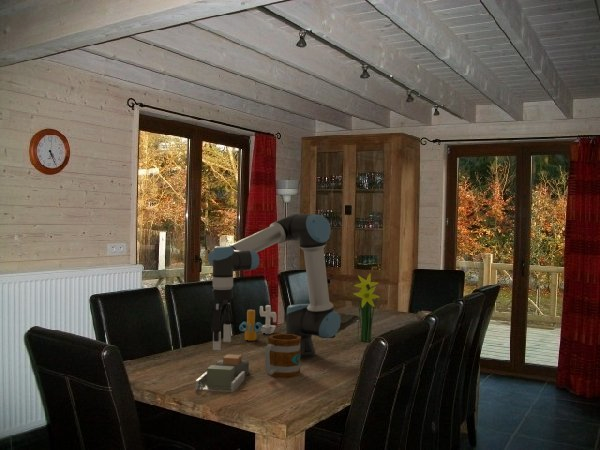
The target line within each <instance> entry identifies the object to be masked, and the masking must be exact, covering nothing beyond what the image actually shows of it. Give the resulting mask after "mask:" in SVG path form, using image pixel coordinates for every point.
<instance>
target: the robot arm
mask: <svg viewBox="0 0 600 450" xmlns="http://www.w3.org/2000/svg"><path fill="white" fill-rule="evenodd" d="M331 228H332V227H331V224H330V222H329V220H328V219H327V218H326V217H325V216H323V215H321V214H317V213H316V214H315V213H311V214H310V213H308V214H307V213H306V214H303V213H302V214H301V213H300V214H298V213H297V214H294V213H293V214H291V215H287V216H285V217H283V218H281V219H278V220H276V221H274V222H272V223H270V224H269V227H266V228H264V229H262V230H259V231H256V232H255V233H253V234H251V235H249V236H247V237H245V238H242V239H240V240H238V241H236V242H234V243H233V242H232V243H231V244H229V245H223V246H222V245H221V246H220V245H218V246H214V247H213V249H211V250H210V251H209V253H208V255H207V259H208V263H209V264H210V266H211V267H212V278H211V282H212V287H213V288H212V289H211V290H212V291H211V292H212V296H211V297H212V299H213V300H215V301H217V302H216V303H213V315H212V321H211V326H210V327H211V328H210V332H211V333H212V351H221V350H222V349H221V346H222V340H223V342H224V343H231V342H232V325H234V321H233V320H234V319H233V318H234V317H233V311H232V305H231V303H232V300H233V297H234V289H233V288H234V272H238V271H239V272H240V271H243V272H244V271H247V272H249V271H251V270H252V271H253V270H256V269H257V268H258V267H259V264H260V256H259V254H258V252H261V251H263V250H265V249H266V248H267V249H268V248H269V247H271V246H273V245H275V244H283V243H285V242H290V241H291V242H292V241H293V242H294V241H296V242H298V244H299V248H300V249H301V250H302V251H303V256H304V265H305V271H306V274H305V275H306V282H307V290H308V299H309V303H298V304H290V305H288V306H287V307H286V313H285V317H286V319H285V320H286V323H285V324H286V326H285V327H286V328H285V331H286V332H285V334H294V335H297V336H301V342H300V353H301V357H300V360H301V359H303V360H304V359H311V358H314V357H315V356H316V348H315V346H314V341H313V339H312V336H315V337H319V338H323V339H324V338H327V339H329V338H332V337H334V336H335V335H336V334H337V333H338V332H339V330H340V327H341V321H342V320H341V315H340V314H339V312H337V311H335V308H334V304H333V303H332V302H331V301H330V295H329V287H328V278H327V277H328V276H327V268H326V267H327V265H326V259H325V250H324V248H325V247H326V246H327V241H328V240H329V239H330V235H331V234H332V231H331V230H332V229H331ZM223 323H224V324H223ZM222 324H223V338H222V332H221V328H222Z"/></svg>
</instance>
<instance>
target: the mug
mask: <svg viewBox="0 0 600 450" xmlns="http://www.w3.org/2000/svg"><path fill="white" fill-rule="evenodd" d="M267 340H268V344H267V345H266V346H265V348H264V349H265V350H264V369H265V370H264V371H265V373H266V374H267V375H268V376H270V377H273V378H282V379H289V378H295V377H298V376H299V375H300V374H301V359H300V357H301V353H300V342H301V336H297V335H294V334H286V333H277V334H269V336H268V337H267Z"/></svg>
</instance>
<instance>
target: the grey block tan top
mask: <svg viewBox="0 0 600 450" xmlns="http://www.w3.org/2000/svg"><path fill="white" fill-rule="evenodd" d="M215 365H218V366H235V367H234V378H236V377H237V376H238V375H239V374H240V373H241V372H242V371H245V377H247V376H248V375H249V371H250V362H249V361H248V360H246V359H243V355H242V354H232V353H231V354H225V355H224V356H223V358H222V359H219V360H217V361H216V362H215Z"/></svg>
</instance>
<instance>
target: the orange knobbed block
mask: <svg viewBox="0 0 600 450" xmlns="http://www.w3.org/2000/svg"><path fill="white" fill-rule="evenodd" d="M262 325H263V324H262V323H261V322H260V321H258V322H256V310H255V309H247V311H246V321H243V322H242V323H240V325H239V331H240V332H244V340H245V341H247V340H248V341H249V342H250V341H251V342H254V341H257V333H259V332H260V331H261V328H262ZM244 326H245V327H244ZM256 326H258V328H256ZM260 326H261V327H260Z"/></svg>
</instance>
